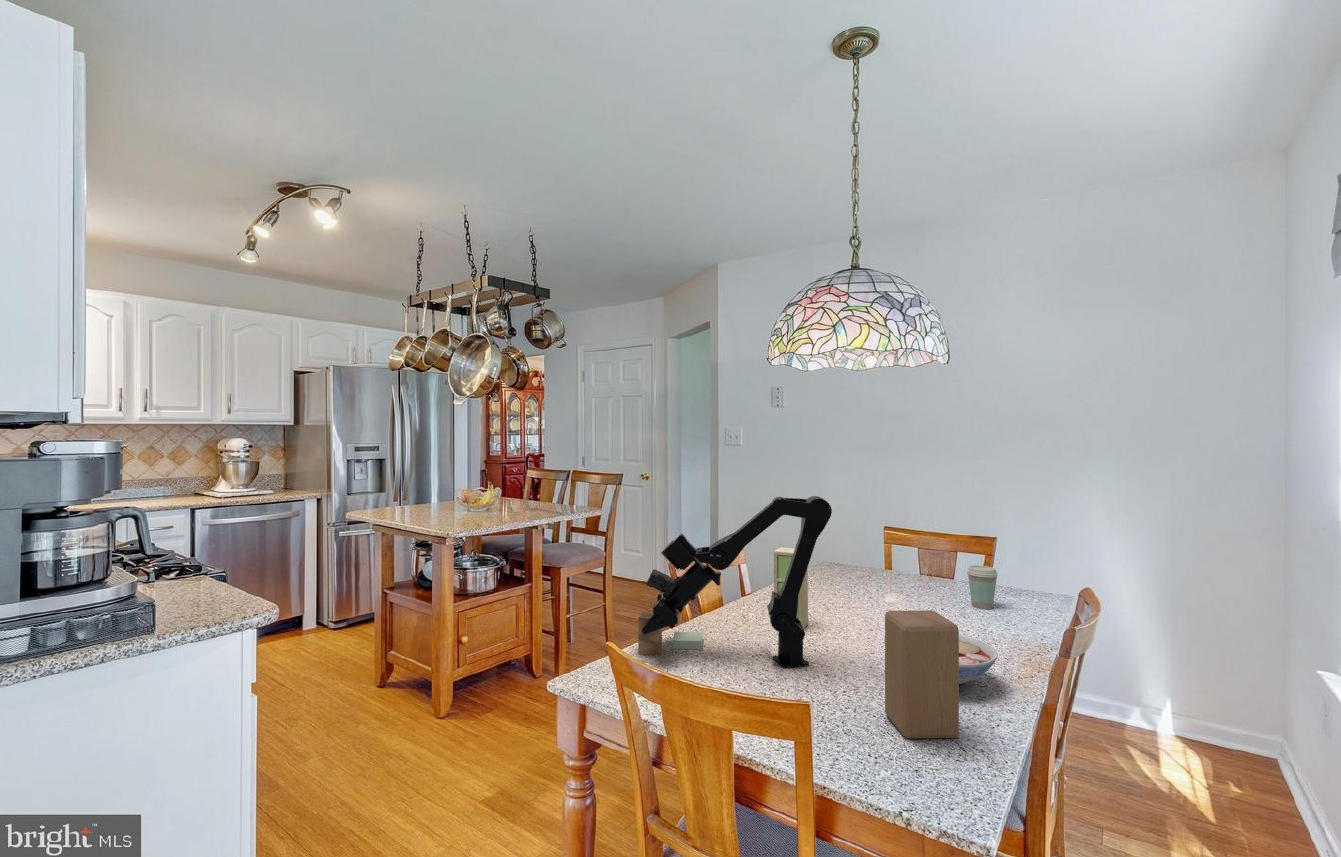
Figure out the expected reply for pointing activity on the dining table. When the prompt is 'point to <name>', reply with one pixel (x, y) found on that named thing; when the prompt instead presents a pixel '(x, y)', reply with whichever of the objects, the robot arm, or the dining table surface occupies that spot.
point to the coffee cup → (982, 586)
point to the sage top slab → (687, 640)
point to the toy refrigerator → (780, 570)
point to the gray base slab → (689, 649)
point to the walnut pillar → (648, 637)
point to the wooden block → (922, 674)
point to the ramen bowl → (974, 658)
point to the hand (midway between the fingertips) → (644, 628)
